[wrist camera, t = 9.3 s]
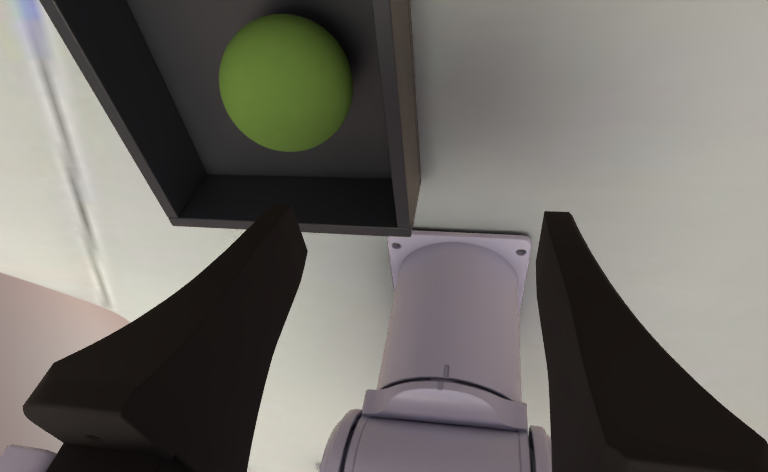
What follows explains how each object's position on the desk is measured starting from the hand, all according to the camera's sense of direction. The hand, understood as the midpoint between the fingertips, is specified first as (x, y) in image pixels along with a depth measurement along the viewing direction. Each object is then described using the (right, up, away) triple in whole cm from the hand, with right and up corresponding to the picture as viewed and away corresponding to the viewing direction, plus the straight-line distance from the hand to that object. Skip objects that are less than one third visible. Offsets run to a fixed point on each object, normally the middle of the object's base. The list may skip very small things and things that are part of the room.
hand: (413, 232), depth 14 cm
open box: (-6, +8, +6) cm, 12 cm away
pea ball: (-6, +7, +6) cm, 11 cm away
